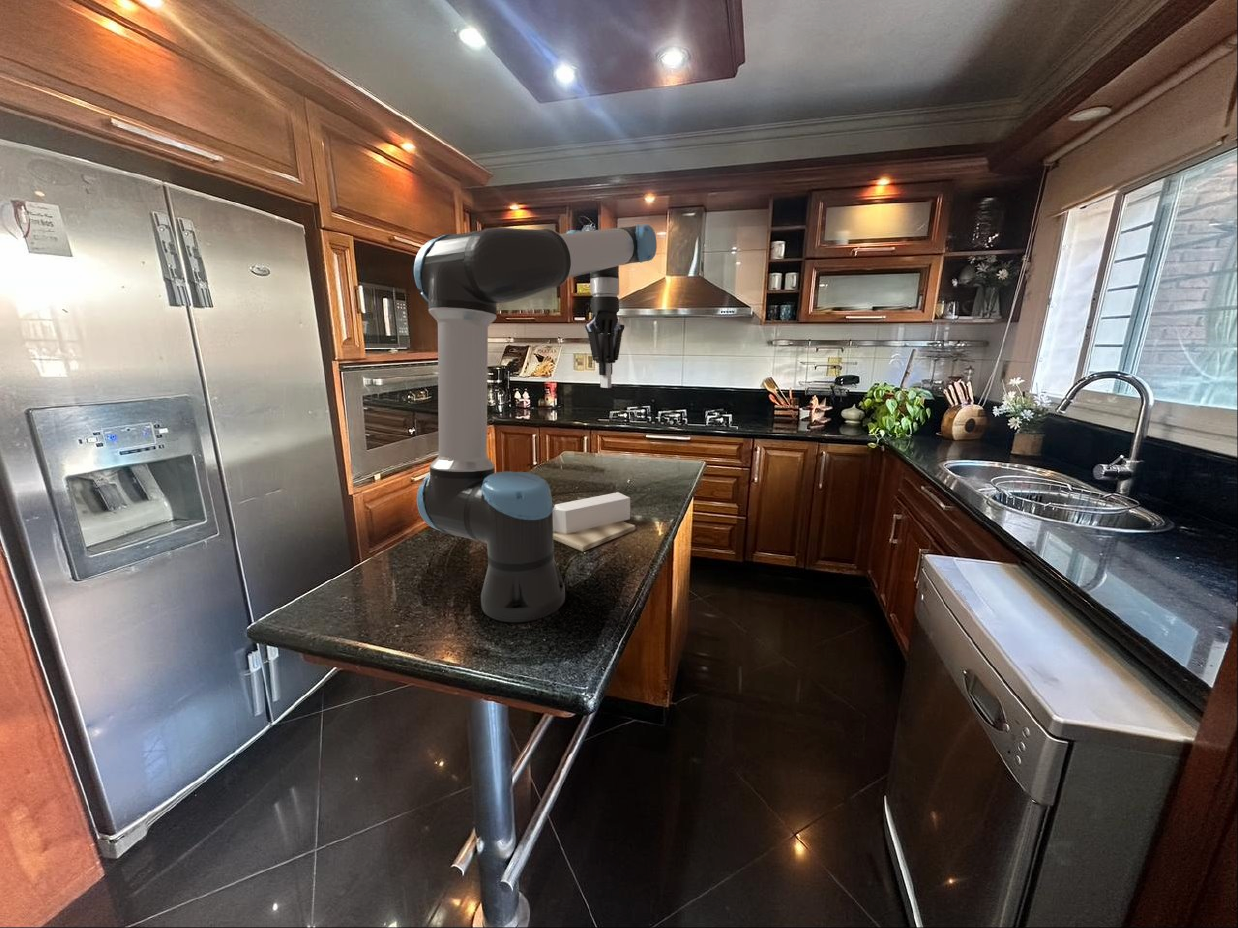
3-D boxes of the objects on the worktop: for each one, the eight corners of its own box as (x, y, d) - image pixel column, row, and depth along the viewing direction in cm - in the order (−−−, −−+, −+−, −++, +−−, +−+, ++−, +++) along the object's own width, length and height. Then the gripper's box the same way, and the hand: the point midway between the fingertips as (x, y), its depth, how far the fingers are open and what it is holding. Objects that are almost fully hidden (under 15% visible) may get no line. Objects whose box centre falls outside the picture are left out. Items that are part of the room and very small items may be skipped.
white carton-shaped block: (618, 512, 131) (543, 529, 119) (618, 491, 129) (542, 506, 118) (630, 519, 126) (554, 537, 114) (630, 497, 124) (553, 513, 113)
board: (582, 551, 109) (582, 546, 109) (549, 537, 117) (549, 533, 117) (635, 529, 122) (635, 525, 122) (601, 518, 130) (601, 514, 130)
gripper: (611, 299, 133) (612, 385, 138) (576, 296, 123) (579, 388, 129) (632, 297, 128) (632, 386, 133) (596, 293, 118) (598, 389, 124)
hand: (605, 387), depth 131 cm, fingers closed
